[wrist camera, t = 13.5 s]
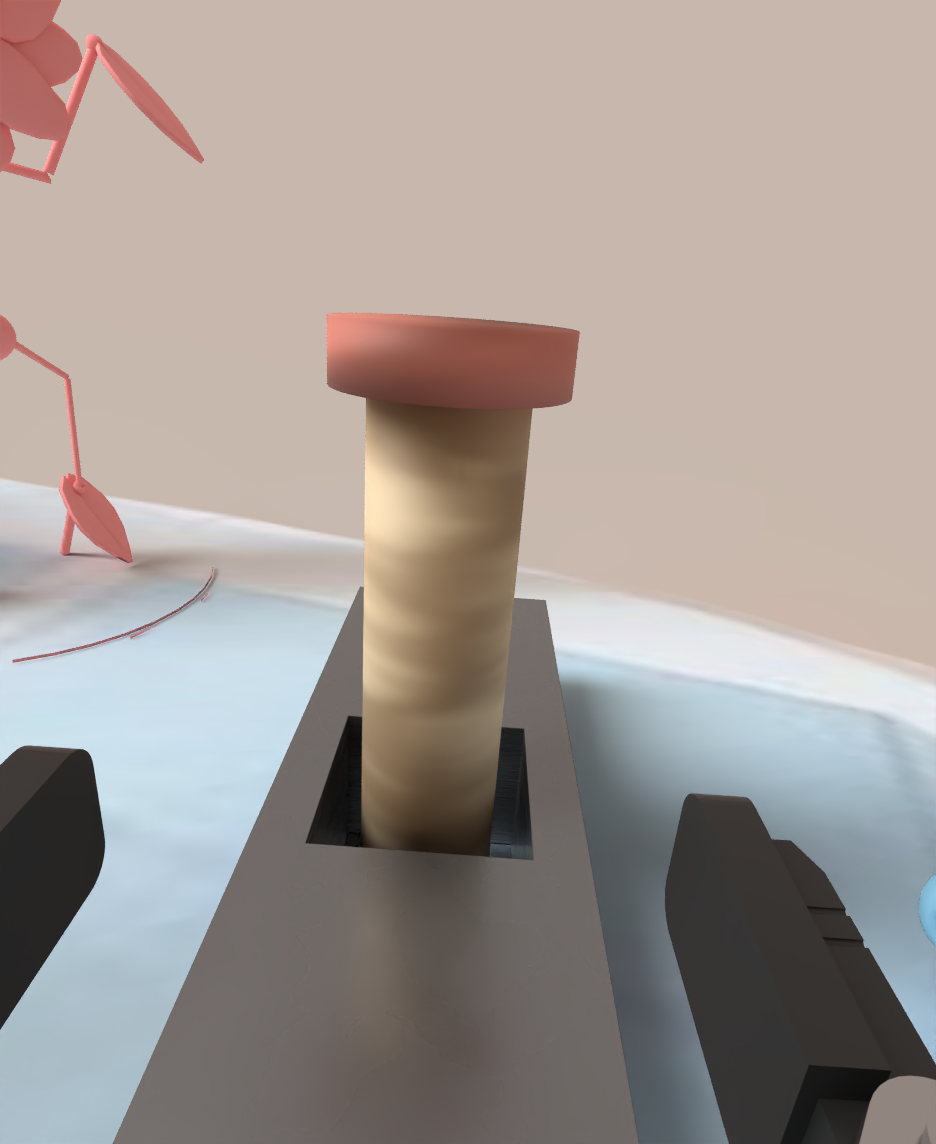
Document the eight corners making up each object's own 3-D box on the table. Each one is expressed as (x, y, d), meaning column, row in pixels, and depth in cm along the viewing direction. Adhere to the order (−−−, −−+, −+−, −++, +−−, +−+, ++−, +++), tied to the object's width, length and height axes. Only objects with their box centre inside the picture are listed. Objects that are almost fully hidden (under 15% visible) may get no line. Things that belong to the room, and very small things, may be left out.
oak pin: (312, 980, 20) (297, 318, 14) (350, 836, 26) (352, 310, 19) (513, 995, 20) (595, 339, 14) (509, 848, 26) (566, 325, 19)
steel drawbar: (22, 1658, 10) (-49, 1505, 8) (358, 676, 36) (360, 586, 34) (644, 1708, 10) (710, 1566, 8) (535, 689, 36) (545, 600, 34)
